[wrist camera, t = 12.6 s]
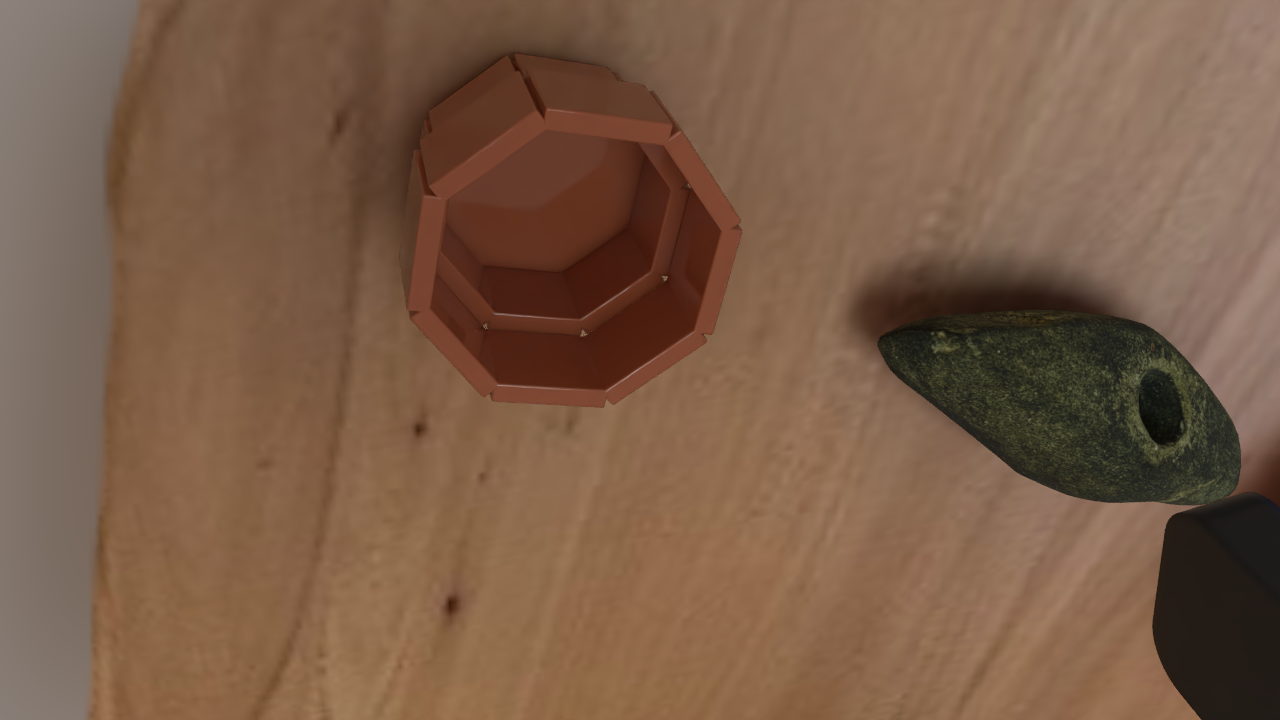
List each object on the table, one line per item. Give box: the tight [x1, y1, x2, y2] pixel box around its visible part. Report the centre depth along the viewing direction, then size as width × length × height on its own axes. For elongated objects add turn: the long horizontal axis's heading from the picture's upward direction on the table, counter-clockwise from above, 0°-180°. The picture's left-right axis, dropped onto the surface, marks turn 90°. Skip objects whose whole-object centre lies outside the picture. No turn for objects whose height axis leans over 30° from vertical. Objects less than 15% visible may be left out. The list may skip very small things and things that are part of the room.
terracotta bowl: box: [399, 54, 742, 408], centre depth 25 cm, size 6×6×5 cm
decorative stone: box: [878, 310, 1241, 505], centre depth 31 cm, size 11×8×5 cm
